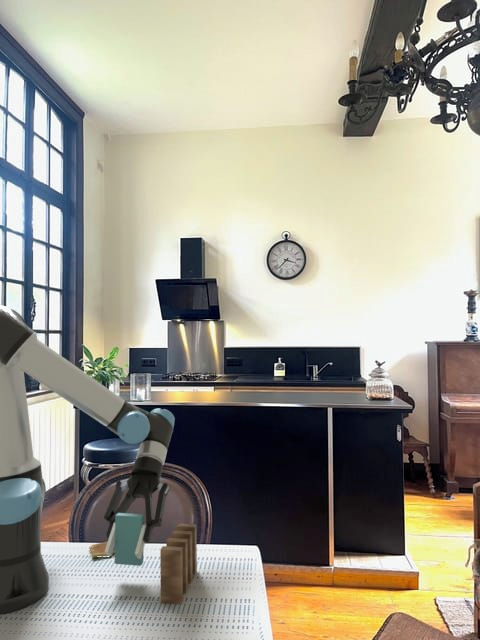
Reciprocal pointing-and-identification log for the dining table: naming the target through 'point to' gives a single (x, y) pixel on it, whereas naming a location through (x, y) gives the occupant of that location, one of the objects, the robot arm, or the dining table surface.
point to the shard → (99, 549)
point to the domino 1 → (127, 538)
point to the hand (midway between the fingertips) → (122, 554)
